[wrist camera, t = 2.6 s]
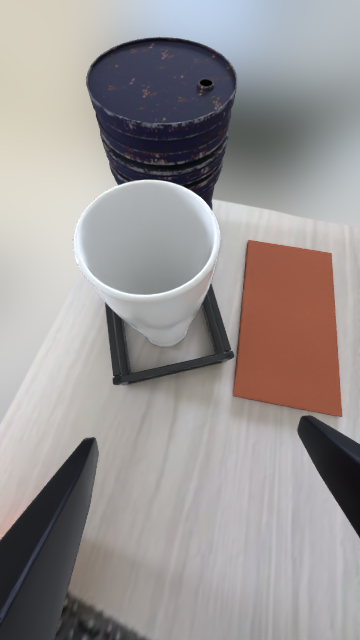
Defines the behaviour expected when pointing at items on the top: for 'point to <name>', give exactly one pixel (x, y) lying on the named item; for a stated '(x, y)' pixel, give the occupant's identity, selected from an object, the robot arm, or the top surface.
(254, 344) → the mat
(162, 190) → the white tall cup
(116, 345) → the drying rack
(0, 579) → the robot arm
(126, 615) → the top surface
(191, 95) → the dark blue oil drum
